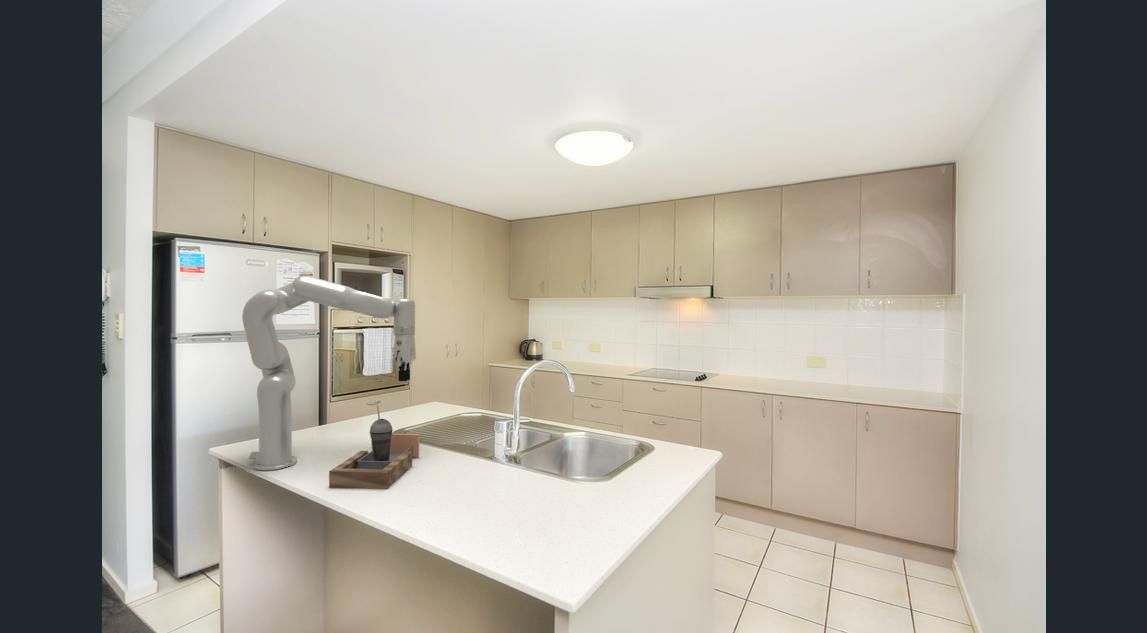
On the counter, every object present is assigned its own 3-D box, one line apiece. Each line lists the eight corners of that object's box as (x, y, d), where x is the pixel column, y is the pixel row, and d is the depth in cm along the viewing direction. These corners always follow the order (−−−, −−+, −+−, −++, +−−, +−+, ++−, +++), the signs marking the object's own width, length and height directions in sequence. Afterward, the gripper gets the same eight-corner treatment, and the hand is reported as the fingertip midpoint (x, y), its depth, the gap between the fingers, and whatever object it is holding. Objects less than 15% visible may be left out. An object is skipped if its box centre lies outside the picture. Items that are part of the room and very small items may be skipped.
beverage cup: (387, 469, 155) (387, 408, 155) (365, 468, 155) (365, 408, 155) (396, 461, 163) (396, 404, 162) (375, 461, 163) (375, 403, 162)
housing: (361, 465, 163) (361, 450, 163) (412, 466, 163) (412, 451, 163) (329, 487, 143) (329, 471, 143) (387, 489, 143) (387, 472, 143)
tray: (376, 454, 173) (376, 432, 173) (419, 455, 173) (419, 433, 173) (350, 473, 154) (350, 448, 154) (398, 474, 154) (398, 449, 153)
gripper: (406, 332, 169) (406, 384, 170) (421, 330, 185) (421, 377, 186) (385, 332, 170) (385, 383, 170) (402, 330, 185) (402, 377, 186)
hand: (404, 380), depth 178 cm, fingers closed
